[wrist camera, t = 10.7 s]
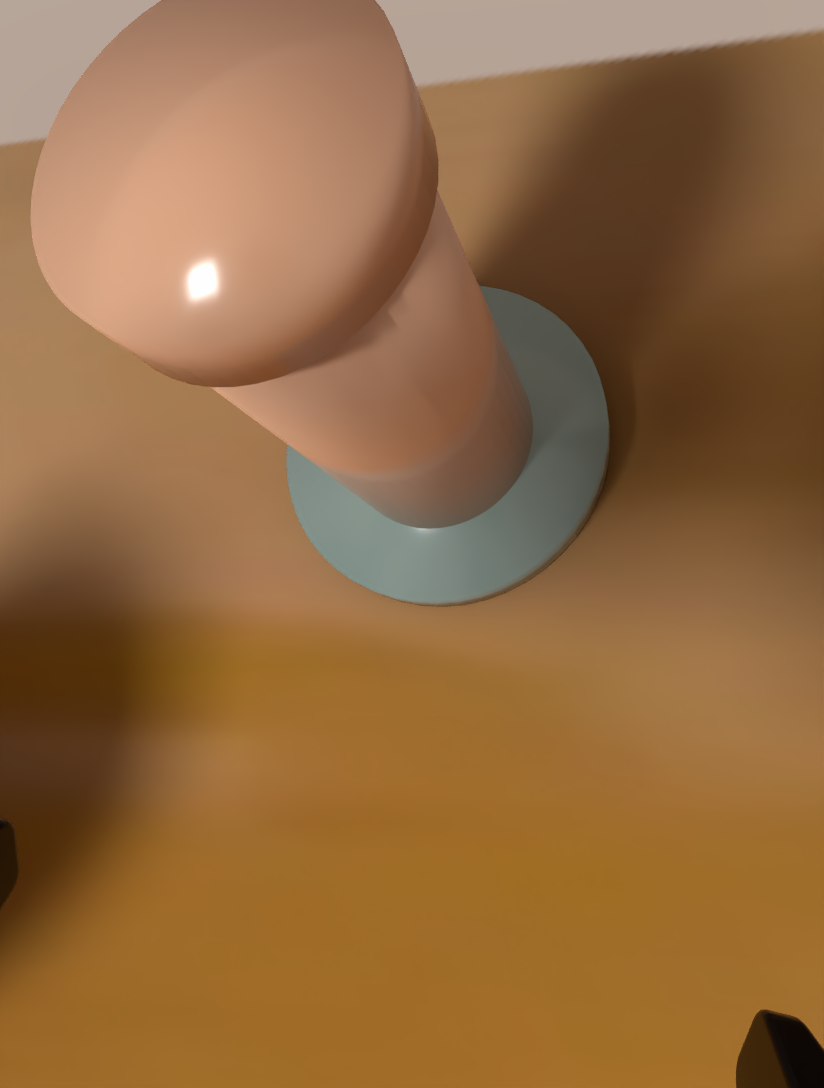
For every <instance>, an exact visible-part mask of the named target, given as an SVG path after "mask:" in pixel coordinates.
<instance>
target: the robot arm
mask: <svg viewBox="0 0 824 1088" xmlns="http://www.w3.org/2000/svg"><path fill="white" fill-rule="evenodd" d="M18 873H19V863H18V854H17V844H16V835H15V828H14V825H13V824H12V822H11V821H9V820H7V819H3V818H0V910H1V908H2V906H3V905H4V903H5V902H6V900H7V898H8V897H9V895H10V894H11V892H12V890H13V888H14V886H15V884H16V881H17V878H18ZM736 1088H824V1049H823V1048H822V1046H821V1045H820V1044H819V1042H818V1041H817V1040H816V1038H815V1037H814V1036H813V1034H812V1033H811V1032H810V1030H809V1029H808V1028H807V1026H806V1025H805V1024H804V1023H803V1022H802V1021H801V1020H799V1019H798V1018H796V1017H793V1016H790V1015H786V1014H782V1013H778V1012H774V1011H770V1010H760V1011H759V1012H758V1013H757V1014H756V1016H755V1017H754V1019H753V1022H752V1024H751V1027H750V1029H749V1032H748V1034H747V1037H746V1039H745V1042H744V1044H743V1047H742V1049H741V1052H740V1054H739V1057H738V1061H737V1067H736Z"/></svg>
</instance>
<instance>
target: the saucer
mask: <svg viewBox="0 0 824 1088" xmlns="http://www.w3.org/2000/svg"><path fill="white" fill-rule="evenodd" d="M479 287H480V289H481V291H482V294H483V296H484V298H485V300H486V303H487V305H488V307H489V310H490V312H491V314H492V316H493V319H494V321H495V323H496V326H497V328H498V330H499V332H500V335H501V337H502V339H503V342H504V344H505V346H506V348H507V351H508V353H509V355H510V358H511V360H512V362H513V364H514V367H515V369H516V371H517V374H518V376H519V378H520V380H521V383H522V385H523V387H524V390H525V392H526V394H527V397H528V400H529V403H530V406H531V411H532V417H533V435H532V444H531V447H530V451H529V455H528V458H527V460H526V463H525V466H524V468H523V470H522V472H521V473H520V475H519V477H518V479H517V480H516V482H515V483H514V484H513V486H512V487H511V488H510V490H509V491H508V492H507V493H506V494H505V495H504V496H503V497H502V498H501V499H500V500H499V501H498V502H497V503H496V504H495V505H493V506H492V507H491V508H490V509H488V510H487V511H485V512H483V513H482V514H480V515H479V516H477V517H475V518H473V519H471V520H468V521H466V522H463V523H460V524H457V525H454V526H449V527H444V528H433V529H426V528H415V527H410V526H406V525H403V524H400V523H397V522H395V521H393V520H391V519H389V518H387V517H385V516H384V515H382V514H381V513H380V512H378V511H377V510H375V509H374V508H373V507H371V506H370V505H369V504H367V503H366V502H365V501H363V500H362V499H361V498H359V497H358V496H357V495H355V494H354V493H353V492H351V491H350V490H348V489H347V488H346V487H344V486H343V485H342V484H340V483H339V482H338V481H336V480H335V479H334V478H332V477H331V476H330V475H328V474H327V473H326V472H324V471H323V470H322V469H320V468H319V467H317V466H316V465H315V464H313V463H312V462H311V461H309V460H308V459H307V458H305V457H304V456H303V455H301V454H300V453H299V452H297V451H296V450H295V449H293V448H292V447H291V446H289V445H287V477H288V486H289V491H290V495H291V499H292V503H293V507H294V509H295V512H296V514H297V517H298V519H299V522H300V524H301V526H302V528H303V529H304V531H305V533H306V535H307V536H308V538H309V540H310V541H311V542H312V544H313V545H314V546H315V548H316V549H317V550H318V551H319V553H320V554H321V555H322V556H323V557H324V558H325V559H326V560H327V561H328V562H329V563H330V564H331V565H332V566H333V567H334V568H335V569H337V570H338V571H339V572H341V573H342V574H344V575H345V576H347V577H348V578H349V579H351V580H352V581H354V582H356V583H358V584H360V585H362V586H364V587H366V588H368V589H370V590H372V591H374V592H376V593H379V594H381V595H383V596H386V597H388V598H391V599H394V600H397V601H400V602H404V603H410V604H415V605H420V606H436V607H447V606H458V605H466V604H471V603H475V602H480V601H484V600H487V599H490V598H493V597H496V596H498V595H501V594H504V593H506V592H508V591H510V590H512V589H514V588H516V587H518V586H520V585H522V584H524V583H526V582H527V581H529V580H530V579H532V578H533V577H535V576H536V575H537V574H539V573H540V572H542V571H543V570H545V569H546V568H547V567H548V566H549V565H550V564H551V563H553V562H554V561H555V560H556V559H557V558H558V557H559V556H560V555H561V554H562V553H563V552H564V551H565V550H566V549H567V548H568V546H569V545H570V544H571V543H572V542H573V541H574V539H575V538H576V537H577V536H578V534H579V533H580V531H581V530H582V528H583V527H584V525H585V524H586V522H587V521H588V519H589V517H590V515H591V513H592V511H593V509H594V507H595V505H596V503H597V501H598V499H599V496H600V493H601V490H602V487H603V484H604V481H605V478H606V473H607V468H608V462H609V457H610V437H611V433H610V424H609V414H608V409H607V404H606V399H605V395H604V391H603V387H602V383H601V379H600V376H599V374H598V372H597V369H596V367H595V365H594V362H593V360H592V358H591V356H590V355H589V353H588V351H587V350H586V348H585V347H584V345H583V343H582V342H581V340H580V339H579V338H578V337H577V336H576V335H575V333H574V332H573V331H572V330H571V329H570V328H569V326H568V325H566V324H565V323H564V322H563V321H562V320H561V319H559V318H558V317H557V316H556V315H555V314H554V313H552V312H551V311H549V310H548V309H546V308H544V307H543V306H541V305H540V304H538V303H537V302H534V301H532V300H530V299H528V298H526V297H523V296H521V295H519V294H516V293H512V292H509V291H506V290H502V289H498V288H492V287H485V286H479Z"/></svg>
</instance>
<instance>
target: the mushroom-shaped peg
mask: <svg viewBox="0 0 824 1088" xmlns="http://www.w3.org/2000/svg"><path fill="white" fill-rule="evenodd" d="M437 187H438V154H437V147H436V140H435V136H434V133H433V130H432V127H431V123H430V120H429V117H428V115H427V112H426V110H425V107H424V105H423V102H422V100H421V97H420V95H419V92H418V90H417V87H416V85H415V82H414V80H413V78H412V75H411V72H410V70H409V67H408V65H407V62H406V60H405V57H404V55H403V53H402V50H401V48H400V45H399V43H398V40H397V37H396V35H395V32H394V30H393V28H392V26H391V24H390V22H389V20H388V19H387V17H386V15H385V13H384V11H383V10H382V9H381V7H380V6H379V5H378V4H377V2H376V1H375V0H161V1H160V2H158V3H157V4H156V5H154V6H153V7H151V8H150V9H148V10H147V11H146V12H144V13H143V14H142V15H140V16H139V17H138V18H137V19H135V20H134V21H133V22H132V23H131V24H129V25H128V26H127V27H126V28H125V29H124V30H122V31H121V32H120V33H119V34H118V35H117V36H116V37H115V38H114V39H113V40H112V41H111V42H110V43H109V44H108V45H107V46H106V47H105V48H104V49H103V50H102V52H101V53H100V54H99V55H98V56H97V57H96V59H95V60H94V61H93V62H92V63H91V64H90V66H89V67H88V68H87V69H86V71H85V72H84V73H83V75H82V76H81V78H80V79H79V80H78V82H77V83H76V85H75V86H74V87H73V89H72V90H71V92H70V94H69V95H68V97H67V99H66V100H65V102H64V104H63V105H62V107H61V109H60V110H59V113H58V115H57V117H56V119H55V121H54V123H53V125H52V127H51V129H50V131H49V133H48V136H47V139H46V141H45V144H44V147H43V149H42V152H41V155H40V159H39V162H38V166H37V170H36V174H35V178H34V185H33V191H32V197H31V229H32V240H33V244H34V248H35V253H36V257H37V261H38V263H39V265H40V268H41V270H42V273H43V275H44V277H45V279H46V281H47V282H48V284H49V286H50V287H51V289H52V290H53V292H54V293H55V295H56V296H57V297H58V298H59V299H60V300H61V301H62V302H63V304H64V305H65V306H66V307H67V308H68V309H69V310H71V311H72V312H73V313H75V314H76V315H77V316H79V317H80V318H81V319H83V320H84V321H85V322H87V323H88V324H90V325H91V326H93V327H94V328H95V329H97V330H98V331H100V332H101V333H103V334H104V335H106V336H107V337H108V338H110V339H111V340H113V341H114V342H116V343H117V344H118V345H120V346H121V347H123V348H124V349H126V350H127V351H129V352H130V353H131V354H133V355H134V356H136V357H137V358H139V359H140V360H141V361H143V362H144V363H146V364H147V365H149V366H150V367H152V368H153V369H154V370H156V371H158V372H160V373H162V374H164V375H166V376H168V377H170V378H172V379H175V380H179V381H182V382H185V383H188V384H192V385H199V386H206V387H211V388H212V389H214V390H215V391H216V392H218V393H219V394H221V395H222V396H223V397H225V398H226V399H227V400H229V401H230V402H231V403H233V404H234V405H235V406H237V407H238V408H239V409H241V410H242V411H243V412H245V413H246V414H247V415H249V416H250V417H252V418H253V419H254V420H256V421H257V422H258V423H260V424H261V425H262V426H264V427H265V428H266V429H268V430H269V431H270V432H272V433H273V434H274V435H276V436H277V437H278V438H280V439H281V440H282V441H284V442H285V443H287V444H288V445H289V446H291V447H292V448H293V449H295V450H296V451H297V452H299V453H300V454H301V455H303V456H304V457H305V458H307V459H308V460H309V461H311V462H312V463H313V464H315V465H316V466H317V467H319V468H320V469H322V470H323V471H324V472H326V473H327V474H328V475H330V476H331V477H332V478H334V479H335V480H336V481H338V482H339V483H340V484H342V485H343V486H344V487H346V488H347V489H348V490H350V491H351V492H353V493H354V494H355V495H357V496H358V497H359V498H361V499H362V500H363V501H365V502H366V503H367V504H369V505H370V506H371V507H373V508H374V509H375V510H377V511H378V512H380V513H381V514H382V515H384V516H385V517H387V518H389V519H391V520H393V521H395V522H397V523H400V524H403V525H406V526H410V527H415V528H426V529H433V528H444V527H449V526H454V525H457V524H460V523H463V522H466V521H468V520H471V519H473V518H475V517H477V516H479V515H480V514H482V513H483V512H485V511H487V510H488V509H490V508H491V507H492V506H493V505H495V504H496V503H497V502H498V501H499V500H500V499H501V498H502V497H503V496H504V495H505V494H506V493H507V492H508V491H509V490H510V488H511V487H512V486H513V484H514V483H515V482H516V480H517V479H518V477H519V475H520V473H521V472H522V470H523V468H524V466H525V463H526V460H527V458H528V455H529V451H530V447H531V444H532V435H533V417H532V411H531V406H530V403H529V400H528V397H527V394H526V392H525V390H524V387H523V385H522V383H521V380H520V378H519V376H518V374H517V371H516V369H515V367H514V364H513V362H512V360H511V358H510V355H509V353H508V351H507V348H506V346H505V344H504V342H503V339H502V337H501V335H500V332H499V330H498V328H497V326H496V323H495V321H494V319H493V316H492V314H491V312H490V310H489V307H488V305H487V303H486V300H485V298H484V296H483V294H482V291H481V289H480V287H479V284H478V282H477V280H476V278H475V275H474V273H473V271H472V268H471V266H470V264H469V262H468V259H467V257H466V255H465V252H464V250H463V248H462V246H461V243H460V241H459V239H458V236H457V234H456V232H455V230H454V227H453V225H452V223H451V220H450V218H449V216H448V214H447V211H446V209H445V207H444V204H443V202H442V200H441V198H440V195H439V193H438V191H437Z"/></svg>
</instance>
